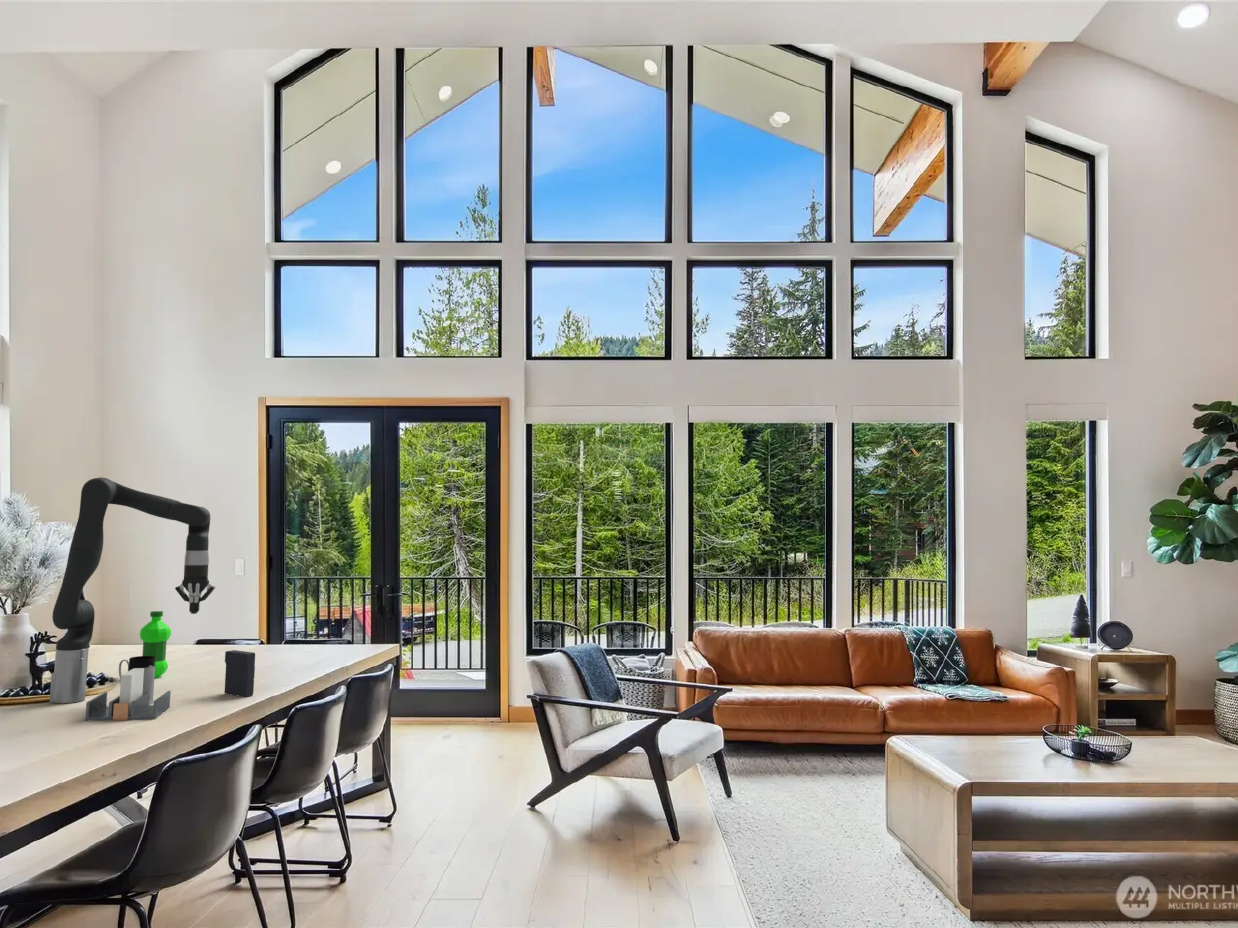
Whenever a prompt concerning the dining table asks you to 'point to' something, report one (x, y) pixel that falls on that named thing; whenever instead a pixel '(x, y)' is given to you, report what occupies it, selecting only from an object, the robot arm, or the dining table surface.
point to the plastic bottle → (156, 641)
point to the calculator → (239, 673)
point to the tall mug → (149, 672)
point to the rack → (126, 708)
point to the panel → (131, 686)
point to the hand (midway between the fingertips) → (194, 613)
